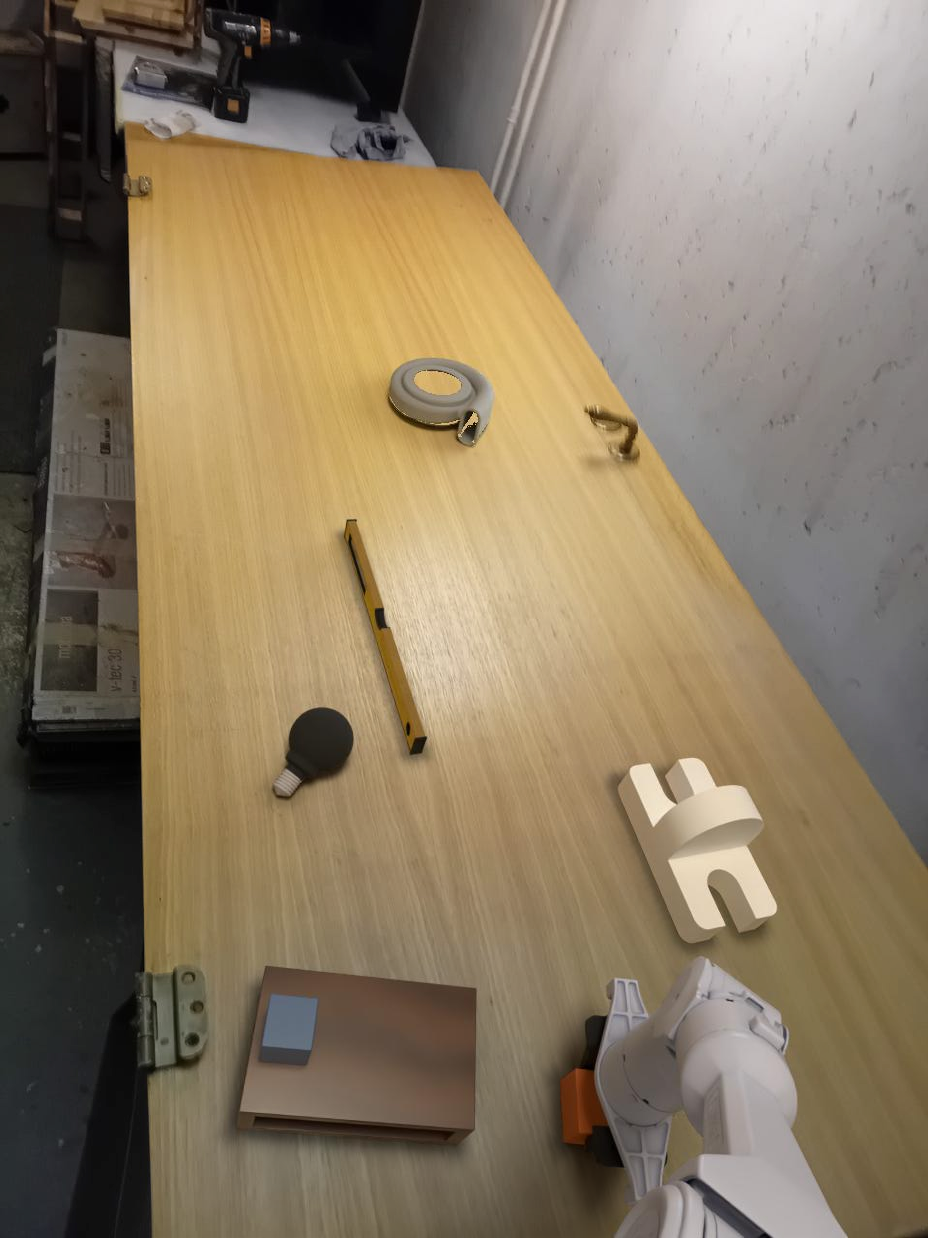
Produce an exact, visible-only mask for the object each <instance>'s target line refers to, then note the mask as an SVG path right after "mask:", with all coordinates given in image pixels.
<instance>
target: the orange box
mask: <svg viewBox="0 0 928 1238" xmlns="http://www.w3.org/2000/svg"><path fill="white" fill-rule="evenodd" d="M559 1084H560V1085H559V1086H560V1103H561V1105H560V1106H561V1124H562V1126H561V1127H562V1142H563V1143H564V1144H572V1145H573V1144H575V1145H585V1140H586V1139H588V1138H590V1137H591V1136H592V1135H593V1132H592V1126H593V1125H600V1126H609V1124H608V1122H607V1119H606V1116H605V1114H604V1111H603V1108H602V1106H601V1103H600V1100H599V1098H598V1095H597V1091H596V1087H595V1081H594V1070H586V1069H580V1068H575V1069H573V1070H571V1072H569V1073H568V1074H567V1075H566V1076H564V1077H563V1078H562V1079H560V1081H559Z"/></svg>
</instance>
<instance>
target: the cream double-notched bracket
mask: <svg viewBox="0 0 928 1238" xmlns="http://www.w3.org/2000/svg"><path fill="white" fill-rule="evenodd" d="M664 777H665V780H666V782H667V784H668V786H669V788H670V790H671V792H672V795H673V797H674V799H675V801H676V803H675V802H673V801H672V800H670V799H669V797H667V795H666V794H665V792H664V790H663V787H662V785H661V783H660V780H659V779H658V777H657V775H656V773H655V771H654V769H653V766H652V764H651V763H643V764H636V765H633V766H631V768H630V769H629V770H628V772H627V773H626V774H625V776H624V777H623V778H622V780H621V781H620V783H619V784H618V785H617V788H616V789H617V794H618V796H619V799H620V801H621V803H622V806H623V808H624V810H625V813H626V815H627V817H628V819H629V822H630V824H631V826H632V829H633V831H634V833H635V835H636V838H637V841H638V843H639V846H640V848H641V851H642V852H643V854H644V857H645V859H646V861H647V865H648V866H649V868H650V871H651V873H652V876H653V878H654V880H655V883H656V886H657V888H658V889H659V892H660V894H661V896H662V899H663V901H664V903H665V906H666V908H667V910H668V914H669V915H670V918H671V920H672V922H673V925H674V926H675V929H676V931H677V934H678V936H679V937H680V939H682V940H683V941H684V942H686V943H687V944H696V943H700V942H704V941H709V940H710V939H712V938H713V937H714V936H715V935H717V934H718V933H719V932H720V931H721V930H723V929H724V928H725V927H726V926H727V925H726V923H725V920H724V918H723V917H722V914H721V912H720V911H719V908H718V906H717V904H716V901H715V900H714V897H713V894H712V893H711V890H710V888H709V887H711V888H713V889H714V890H716V891H717V892H718V894H719V895H720V896H721V898H722V900H723V902H724V905H725V907H726V909H727V911H728V913H729V915H730V917H731V919H732V921H733V923H734V925H735V928H736V929H737V932H738V933H739V934H741V933H744V932H749V931H753V930H756V929H758V928H759V927H760V926H762V924H764V923H765V922H766V921H767V920H769V919H770V918H771V917H773V916H774V915H775V914H776V913H777V911H778V905H777V902H776V900H775V898H774V896H773V894H772V892H771V890H770V889H769V887H768V885H767V883H766V881H765V879H764V877H763V875H762V873H761V871H760V869H759V867H758V865H757V863H756V861H755V860H754V857H753V855H752V853H751V851H750V849H749V847H748V845H750V843H752V841H754V840H755V839H756V838H757V837H758V836H759V835H760V834H761V832H763V830H764V828H765V822H764V820H763V818H762V816H761V814H760V812H759V810H758V809H757V806H756V805H755V803H754V801H753V799H752V798H751V795H750V794H749V792H748V790H747V788H746V787H744V786H742V785H738V784H737V785H735V784H730V785H723V786H717V785H716V783H715V781H714V779H713V777H712V775H711V773H710V771H709V770H708V767H707V766H706V764H705V763H704V761H703V760H702V759H699V758H697V757H687V758H681V759H677V760H676V762H675V763H674V764H673V765H672V767H671V768H670V770H668V772H667V773H666V774H665V775H664Z"/></svg>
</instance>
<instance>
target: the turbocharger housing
mask: <svg viewBox="0 0 928 1238" xmlns="http://www.w3.org/2000/svg"><path fill="white" fill-rule="evenodd" d="M426 370H427V371H438V372H444V373H447V374H450V375H452V376H454V377H456V378H457V379H459V381H460V382H461V389H460V390H459V391H458V392H457V393H454V394H451V395H436V394H432V393H428V392H426V391H424V390H422V389H420V388H419V387H418V386H417V385H416V384H415V382H414V377H415V375H416V374H417V373H419V372H421V371H426ZM389 392H390V397H391V399H392V401H393V403H394V404H395V406H396V407H397V408H398V409H399V410H400V411H401V412H403V413H405V414H406V415H408V416H410V417H412V418H414V419H416V420H415V421H416V422H418V423H422V424H424V425H428V426H435V427H449V426H450V425H435V424H441V423H449V422H453V421H456V420H460V422H458V423H456V424H458V428H457V433H458V434H461V432H462V429H463V427H464V426H465V424H466V423H467V422H468V420H469V419H470V417H471V416H472V414H473V412H474V413H476V414H477V417H478V422H477V423H475V422H474V423H473V425H468V426H469V427H468V426H467V428H466V429H465V430H464V432H463V433H462V434H461V436H462V437H458V436H457V439H458V440H459V442H460V443H461V444H463V445H464V446H468V447H470V446H474V445H475V444H474V443H473V442H472V441H473V440H474V442H476V443H478V440H479V437H480V436H479V435H481V434H482V433H483V432H484V430H485V429H486V428H487V426H488V425H489V423H488V422H490V420H491V415H492V410H493V406H494V401H495V391H494V388H493V385H492V383H491V381H490V380H489V379H488V377H486V376H485V374H483V373H482V372H481V371H479V370H477V369H476V368H474V367H472V366H471V365H468V364H467V363H466V364H465V363H463V362H461V361H457V360H454V359H448V358H442V357H421V358H415V359H411V360H408V361H406V362H404V363H402V364H400V365H399V366H398V367H397V368H396V369H395V370H394V371H393V372H392V374H391V377H390V380H389V390H388V393H389ZM394 408H395V407H394ZM395 410H397V409H396V408H395ZM414 419H413V420H414ZM489 419H490V420H489ZM417 420H419V421H417ZM420 421H422V422H420ZM425 422H426V423H425ZM430 423H434V424H430ZM456 424H455V425H456ZM475 424H476V425H475ZM487 424H488V425H487ZM453 425H454V424H452V425H451V426H453ZM486 425H487V426H486ZM470 426H471V427H470ZM485 427H486V428H485ZM484 428H485V429H484ZM482 431H483V432H482Z"/></svg>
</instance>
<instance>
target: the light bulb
mask: <svg viewBox="0 0 928 1238" xmlns="http://www.w3.org/2000/svg"><path fill="white" fill-rule="evenodd" d="M354 736H355V735H354V730H353V727H352V725H351V723H350V722H349V720H348V719H347V717H345V715H344V714H342V713H341V712H339V711H338V710H336V709H334V708H331V707H327V706H326V707H324V706H322V707H321V706H319V707H318V706H317V707H313V708H310V709H308V710H306V711H304V712H302V713H301V714H300V715H299V716H298V717H297V718H296V719H295V720H294V722H293V723H292V725H291V727H290V730H289V733H288V747H289V750H288V752H287V753H286V754H285V757H284V759H285V760H286V761H287V764H286V766H285V767H284V769H283V770H282V772H280V774H279V775H278V777H276V780H274V782H273V783H272V786H273V789H274V792H275V794H276V796H282V797H292V794H294V792H295V791H296V789H298V787H299V786H300V784H301V783H302V782H303V781H305V779H306V778H308V779H315V777H316V776H317V775H318V774H319V773H325V772H330V771H333V770H335V769H337V768H339V767H340V766H342V765H343V764H344V763H345V762H346V761H347V760H348V758H349V756H350V755H351V752H352V750H353V748H354V739H355V737H354Z"/></svg>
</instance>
